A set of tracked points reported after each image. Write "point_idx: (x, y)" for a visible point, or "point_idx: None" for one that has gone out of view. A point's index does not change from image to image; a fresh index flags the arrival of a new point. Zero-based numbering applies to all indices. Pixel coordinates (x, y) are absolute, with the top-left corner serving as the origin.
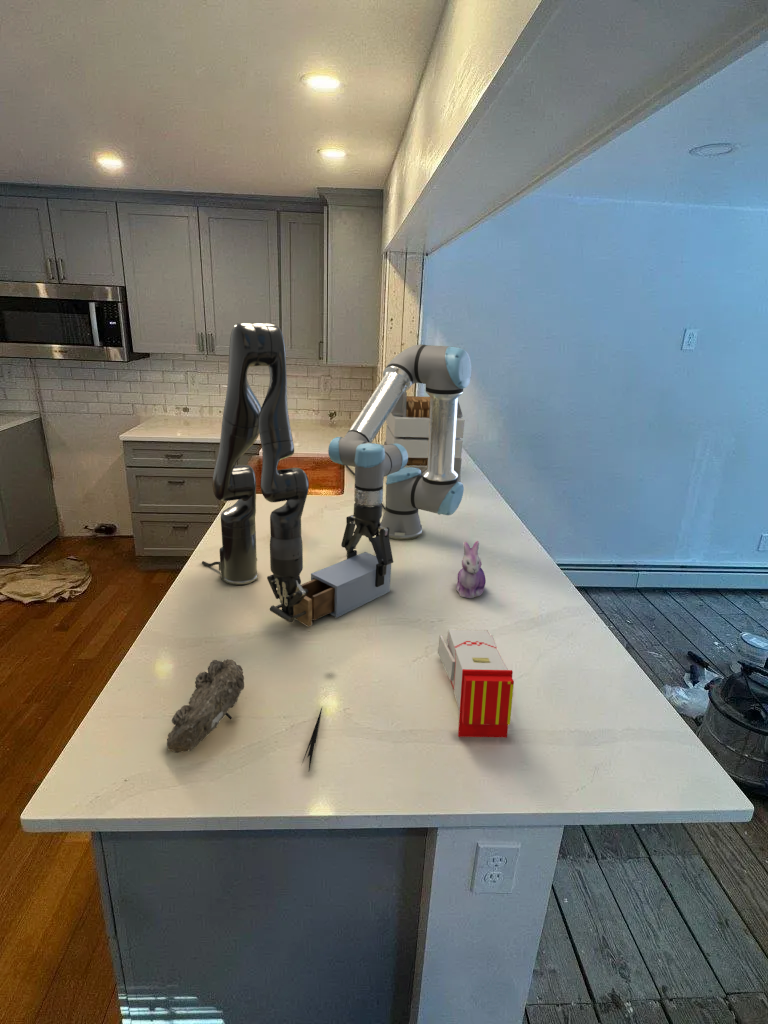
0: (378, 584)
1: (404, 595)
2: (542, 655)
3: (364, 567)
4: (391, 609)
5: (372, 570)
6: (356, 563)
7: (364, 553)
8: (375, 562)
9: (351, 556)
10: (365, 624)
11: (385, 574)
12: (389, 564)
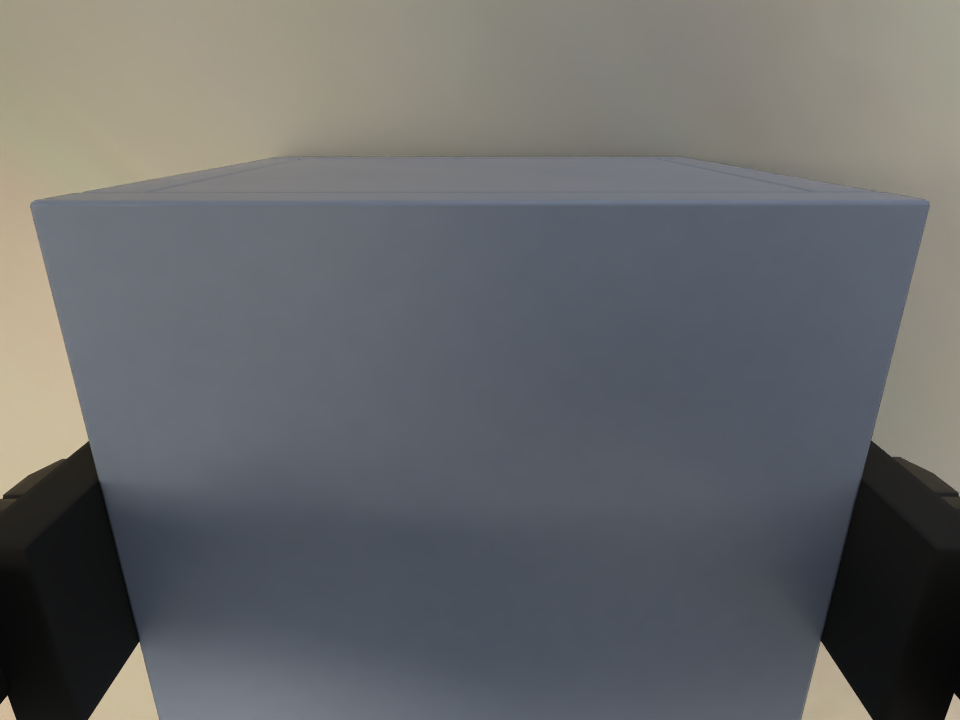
0: None
1: (863, 92)
2: None
3: (617, 716)
4: (891, 414)
5: (797, 703)
6: (403, 704)
7: (110, 299)
8: (631, 455)
9: (122, 625)
10: (834, 688)
11: (906, 467)
12: (899, 265)
